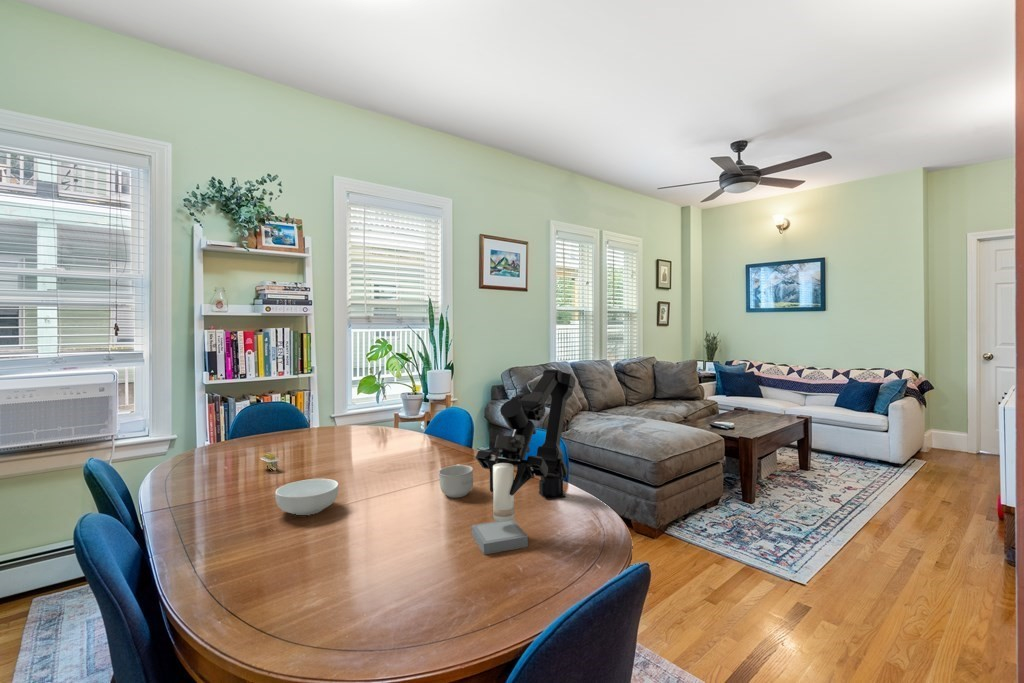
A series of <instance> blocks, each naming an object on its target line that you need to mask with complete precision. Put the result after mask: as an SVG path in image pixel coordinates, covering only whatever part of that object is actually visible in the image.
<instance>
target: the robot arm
mask: <svg viewBox="0 0 1024 683" xmlns="http://www.w3.org/2000/svg"><path fill="white" fill-rule="evenodd" d="M575 386H576V378H575V376H574V375H573V374H572V373H568V372H563V371H562V370H559V369H553V368H552V369H551V368H547V369H544V370H543V373H542V376H541V378H540V379H539V380H538V381H537V383H536V384H535V386H534V387H533V389H532V391H531V392H530V393H528V394H525V395H523V396H522V397H521V398H520V397H519V396H512V397H511V398H510V400H507V401H505V402H504V403H503V404H502V405H501V406H500V410H499V411H500V414H501V416H502V418H503V420H504V422H505V423H506V425H507V426H508V428H510V429H511V432H510V434H509V435H500V434H499V435H498V434H497V435H496V438H495V444H494V449H497V450H498V453H499V454H500V455H502V456H498V455H496V454H495V453H494V451H493V450H489V449H483V448H481V449H479V450H478V451H477V452H476V455H475V459H476V460H477V462H478V463H479V465H480V466H481V467H482V468H483V469H485V470H489V491H490V492H491V493H493V465H495V464H498V463H509V464H512V465H514V467H516V474H515V475H514V481H513V484H512V487H511V490H510V495H511V496H513V495H514V496H515V494H516V493H517V491H519V490H520V489H521V487H522V486H523V485H525V484H526V483H528V482H529V481H530V480H531V479H534V478H535V477H540V480H539V484H538V485H539V487H538V488H539V491H538V494H540V495H541V496H542V497H543V498H544V499H545V500H552V499H560V498H566V494H565V493H564V479H567V477H568V476H567V475H568V467H567V465H566V462H565V461H564V453H563V451H562V448H561V440H562V439H561V438H562V433H563V426H564V420H565V419H564V418H565V413H566V412H565V411H566V404H567V401H568V400H569V399H570V397H572V395H573V392H574V388H575ZM549 398H551V401H550V408H549V414H548V418H547V425H546V431H545V432H546V433H545V437H544V443H542V444H541V446H540V445H539V446H538V447H537V449H536V455H528V456H527V453H530V450H531V449H530V444H531V440H532V437H533V435H536V434H537V430H536V428H535V425H534V424H535V423H533V421H535V422H540V421H541V420H542V419H543V417H544V416H545V414H546V405H545V404H546V402H547V400H548V399H549ZM526 456H527V458H526ZM525 458H526V459H525Z"/></svg>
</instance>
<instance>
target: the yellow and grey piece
mask: <svg viewBox="0 0 1024 683" xmlns="http://www.w3.org/2000/svg"><path fill="white" fill-rule="evenodd" d="M260 460H262V461H264V462H265V463H266V466H267V465H268V468H267V469H268V470H269V469H270V468H273V467H274V468H276V469H277V470H278V462H280V461H281V458H278V457H276V454H274V453H272V452H269V451H268V452H267V454H266V453H263V456H261V457H260ZM270 470H271V469H270Z"/></svg>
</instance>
